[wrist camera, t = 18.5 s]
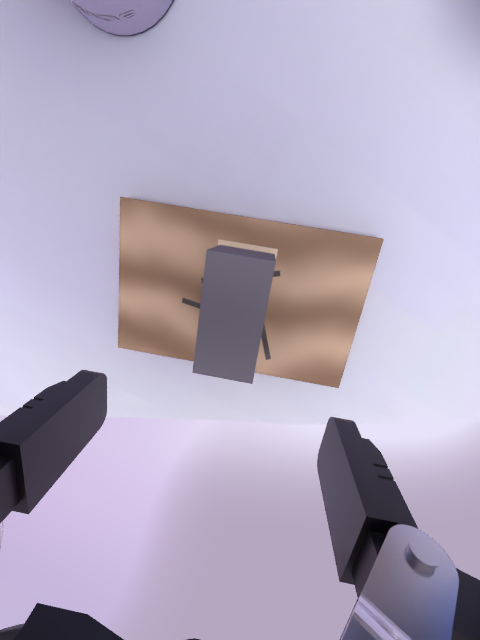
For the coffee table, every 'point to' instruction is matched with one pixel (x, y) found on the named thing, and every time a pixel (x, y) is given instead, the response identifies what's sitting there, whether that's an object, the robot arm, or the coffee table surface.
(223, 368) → the sanding block
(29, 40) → the coffee table surface
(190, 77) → the coffee table surface
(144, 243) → the oak board
